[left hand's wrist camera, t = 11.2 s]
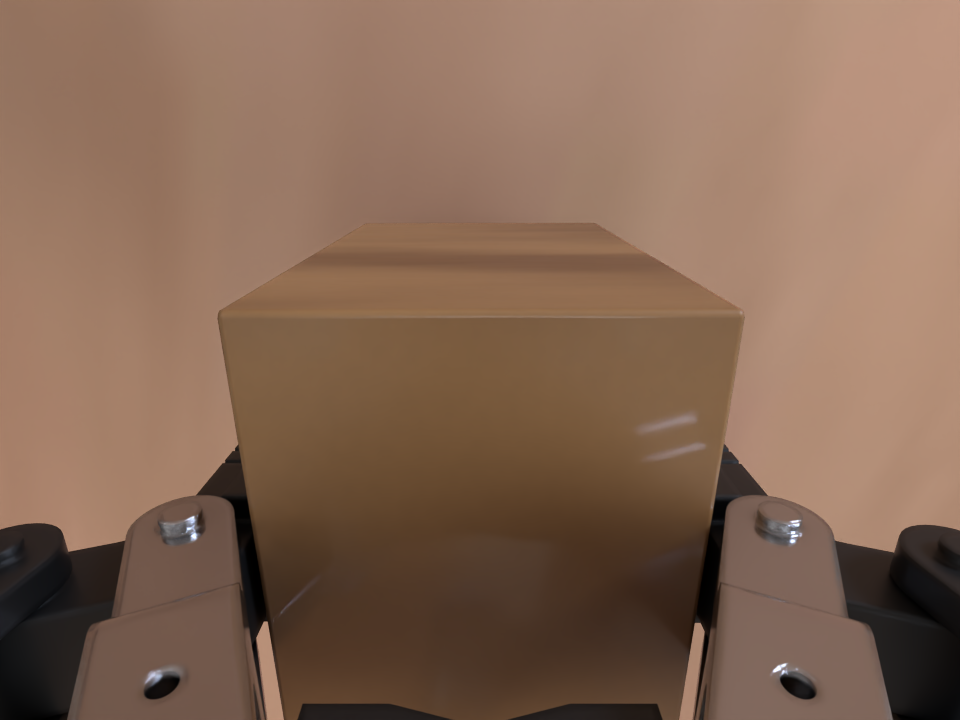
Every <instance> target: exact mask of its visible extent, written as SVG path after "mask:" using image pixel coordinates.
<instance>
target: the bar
mask: <svg viewBox="0 0 960 720" xmlns="http://www.w3.org/2000/svg"><path fill="white" fill-rule="evenodd" d="M744 318H745V317H744V312H743V310H742V309H740V308H738V307H737V306H735V305H733V304H732V303H730V302H728V301H727V300H725V299H723V298H721V297H720V296H718V295H716V294H715V293H713V292H711V291H709V290H708V289H706V288H704V287H703V286H701V285H699V284H698V283H696V282H694V281H692V280H691V279H689V278H687V277H686V276H684V275H682V274H681V273H679V272H677V271H675V270H674V269H672V268H670V267H669V266H667V265H665V264H664V263H662V262H660V261H658V260H657V259H655V258H653V257H652V256H650V255H648V254H647V253H645V252H643V251H641V250H640V249H638V248H636V247H635V246H633V245H631V244H630V243H628V242H626V241H624V240H623V239H621V238H619V237H618V236H616V235H614V234H613V233H611V232H609V231H607V230H606V229H604V228H602V227H601V226H599V225H597V224H595V223H399V224H364V225H363V226H361V227H359V228H358V229H356V230H354V231H353V232H351V233H349V234H348V235H346V236H344V237H343V238H341V239H339V240H337V241H336V242H334V243H332V244H331V245H329V246H327V247H326V248H324V249H322V250H321V251H319V252H317V253H316V254H314V255H312V256H311V257H309V258H307V259H306V260H304V261H302V262H301V263H299V264H297V265H296V266H294V267H292V268H291V269H289V270H287V271H286V272H284V273H282V274H281V275H279V276H277V277H275V278H274V279H272V280H270V281H269V282H267V283H265V284H264V285H262V286H260V287H259V288H257V289H255V290H254V291H252V292H250V293H249V294H247V295H245V296H244V297H242V298H240V299H239V300H237V301H235V302H234V303H232V304H230V305H229V306H227V307H225V308H224V309H222V310H220V311H219V313H218V324H219V330H220V336H221V342H222V348H223V354H224V360H225V366H226V372H227V378H228V384H229V390H230V396H231V402H232V408H233V414H234V420H235V426H236V432H237V438H238V445H239V451H240V457H241V463H242V469H243V475H244V481H245V487H246V493H247V499H248V505H249V511H250V517H251V523H252V529H253V535H254V541H255V547H256V553H257V559H258V565H259V571H260V577H261V583H262V589H263V595H264V601H265V607H266V613H267V620H268V626H269V632H270V638H271V644H272V650H273V656H274V662H275V668H276V674H277V680H278V686H279V692H280V698H281V704H282V710H283V716H284V720H297V719H298V716H299V713H300V710H301V707H302V704H393V705H397V706H401V707H405V708H409V709H413V710H417V711H421V712H425V713H429V714H433V715H437V716H440V717H444V718H448V719H452V720H508V719H512V718H516V717H520V716H523V715H527V714H531V713H535V712H539V711H543V710H547V709H551V708H555V707H559V706H563V705H567V704H658V707H659V710H660V713H661V716H662V719H663V720H679V716H680V710H681V704H682V698H683V692H684V685H685V679H686V673H687V667H688V661H689V655H690V649H691V643H692V636H693V630H694V624H695V618H696V612H697V606H698V600H699V593H700V587H701V581H702V575H703V569H704V563H705V557H706V551H707V544H708V538H709V532H710V526H711V520H712V514H713V508H714V502H715V495H716V489H717V483H718V477H719V471H720V465H721V459H722V453H723V446H724V440H725V434H726V428H727V422H728V416H729V410H730V403H731V397H732V391H733V385H734V379H735V373H736V367H737V361H738V354H739V348H740V342H741V336H742V330H743V324H744Z"/></svg>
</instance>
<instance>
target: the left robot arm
mask: <svg viewBox="0 0 960 720" xmlns="http://www.w3.org/2000/svg"><path fill="white" fill-rule="evenodd" d="M264 621H268V620H267V613H266V607H265V601H264V595H263V589H262V583H261V577H260V571H259V565H258V559H257V553H256V547H255V541H254V535H253V529H252V523H251V517H250V511H249V505H248V499H247V493H246V487H245V481H244V475H243V469H242V463H241V457H240V451H239V445H238V446H237V447H236V448H235V451H233V452H232V453H231V454H230V455H229V456H228V458H227V459H226V460H225V463H223V464H222V465H221V466H220V467H219V468H218V470H217V471H216V472H215V473H214V474H213V476H212V477H211V478H210V479H209V480H208V482H207V483H206V484H205V485H204V486H203V488H202V489H201V490H200V491H199V492H198V494H197V495H196V496H189V497H183V498H179V499H175V500H172V501H169V502H166V503H164V504H161V505H159V506H157V507H155V508H153V509H151V510H149V511H148V512H146V513H145V514H143V515H142V516H141V517H139V518H138V519H137V520H136V521H135V522H134V523H133V524H132V525H131V527H130V528H129V530H128V532H127V535H126V540H125V541H122V542H117V543H112V544H107V545H102V546H97V547H92V548H86V549H81V550H76V551H71V552H68V549H67V546H66V543H65V539H64V536H63V533H62V531H61V530H60V529H59V528H58V527H56V526H53V525H50V524H42V523H33V524H23V525H17V526H12V527H8V528H4V529H1V530H0V720H267V712H266V705H265V697H264V689H263V681H262V673H261V665H260V657H259V650H258V644H257V639H256V637H257V635H258V633H259V631H260V628H261V626H262V624H263V622H264ZM695 623H701V624H702V627H703V629H704V631H705V633H704V639H703V644H702V650H701V657H700V665H699V673H698V681H697V689H696V697H695V705H694V712H693V720H960V531H959V530H956V529H952V528H947V527H941V526H935V525H916V526H911V527H908V528H906V529H904V530H903V531H902V532H901V534H900V535H899V539H898V542H897V545H896V549H895V552H894V553H893V552H888V551H883V550H878V549H872V548H867V547H862V546H857V545H852V544H847V543H843V542H838V541H835V540H834V535H833V532H832V530H831V528H830V527H829V525H828V524H827V523H826V522H825V521H824V520H823V519H822V518H821V517H819V516H818V515H817V514H815V513H814V512H812V511H811V510H809V509H807V508H805V507H803V506H801V505H799V504H796V503H794V502H791V501H788V500H785V499H781V498H777V497H771V496H768V495H767V494H766V493H765V492H764V491H763V489H762V488H761V487H760V486H759V485H758V483H757V482H756V481H755V480H754V479H753V478H752V476H751V475H750V474H749V473H748V472H747V470H746V469H745V468H744V467H743V466H742V464H739V461H738V460H737V459H736V457H735V456H734V455H733V454H732V453H731V452H729V451H728V448H727V447H726V445H725V444H724V446H723V453H722V459H721V465H720V471H719V477H718V483H717V489H716V495H715V502H714V508H713V514H712V520H711V526H710V532H709V538H708V544H707V551H706V557H705V563H704V569H703V575H702V581H701V587H700V593H699V600H698V606H697V612H696V618H695ZM297 720H452V719H448V718H444V717H440V716H437V715H433V714H429V713H425V712H421V711H417V710H413V709H409V708H405V707H401V706H397V705H393V704H302V707H301V710H300V713H299V716H298V719H297ZM508 720H663V719H662V716H661V713H660V710H659V707H658V704H567V705H563V706H559V707H555V708H551V709H547V710H543V711H539V712H535V713H531V714H527V715H523V716H520V717H516V718H512V719H508Z"/></svg>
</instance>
